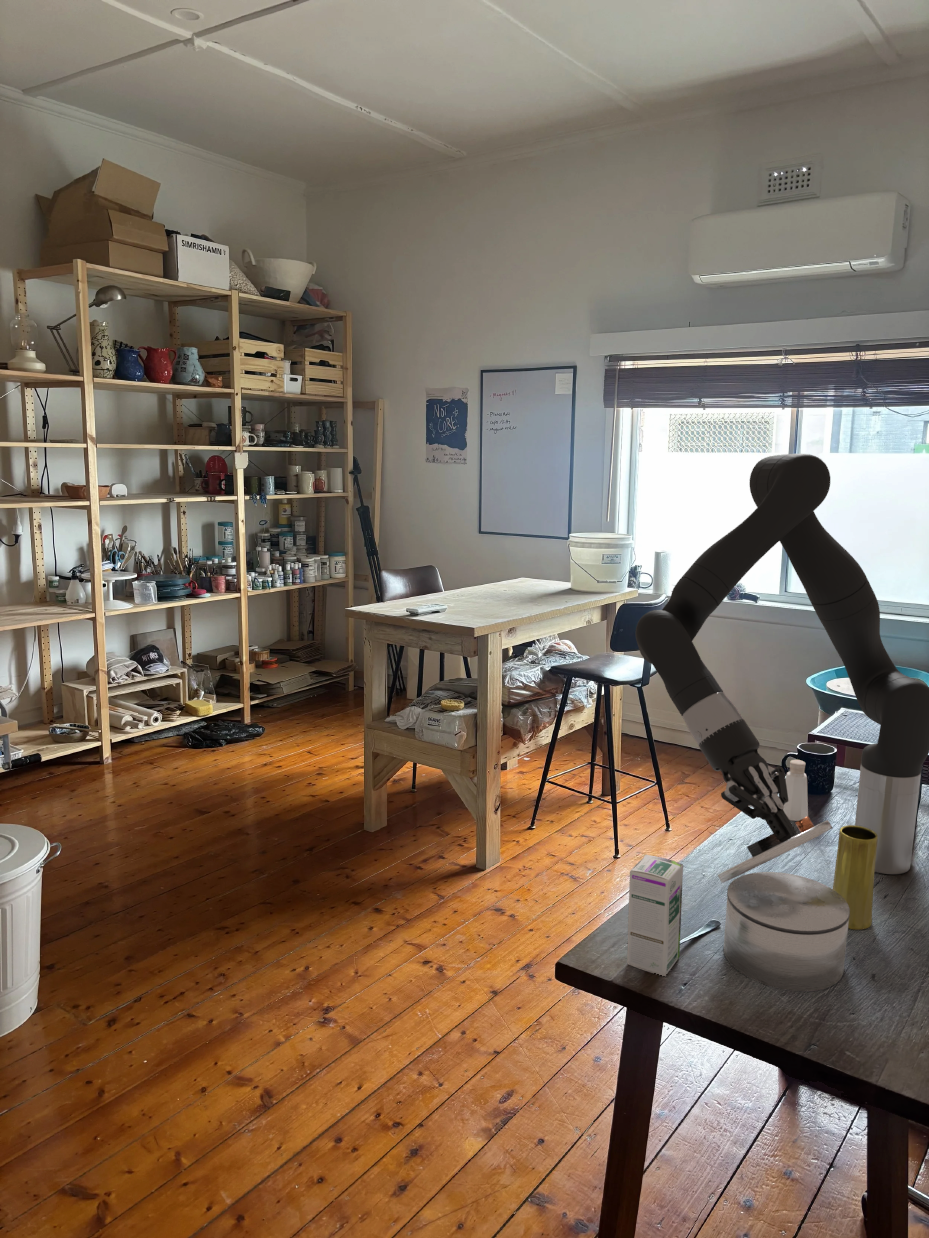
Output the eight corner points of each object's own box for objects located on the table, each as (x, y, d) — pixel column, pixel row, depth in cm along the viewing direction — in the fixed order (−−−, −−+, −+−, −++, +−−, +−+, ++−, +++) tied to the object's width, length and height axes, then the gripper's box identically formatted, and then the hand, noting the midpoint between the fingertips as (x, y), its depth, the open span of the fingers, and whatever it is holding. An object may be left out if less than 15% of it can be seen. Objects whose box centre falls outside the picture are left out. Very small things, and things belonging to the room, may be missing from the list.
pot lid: (767, 858, 138) (757, 841, 139) (854, 816, 126) (843, 798, 127) (699, 894, 127) (689, 875, 128) (788, 851, 115) (776, 831, 116)
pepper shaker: (804, 823, 171) (809, 768, 169) (775, 817, 174) (779, 763, 172) (811, 813, 176) (816, 760, 174) (782, 807, 179) (786, 754, 176)
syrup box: (665, 978, 123) (671, 879, 120) (624, 964, 126) (629, 868, 123) (679, 957, 128) (685, 862, 125) (640, 945, 131) (644, 852, 128)
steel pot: (763, 914, 139) (768, 861, 137) (865, 961, 127) (872, 903, 125) (700, 952, 129) (704, 895, 127) (804, 1007, 117) (810, 944, 115)
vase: (875, 932, 134) (885, 843, 132) (832, 927, 136) (840, 839, 133) (866, 911, 140) (875, 825, 137) (824, 907, 142) (832, 821, 139)
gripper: (708, 727, 125) (781, 841, 118) (763, 709, 133) (834, 814, 126) (675, 753, 130) (743, 863, 123) (729, 734, 138) (796, 837, 131)
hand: (789, 838), depth 125 cm, fingers closed
